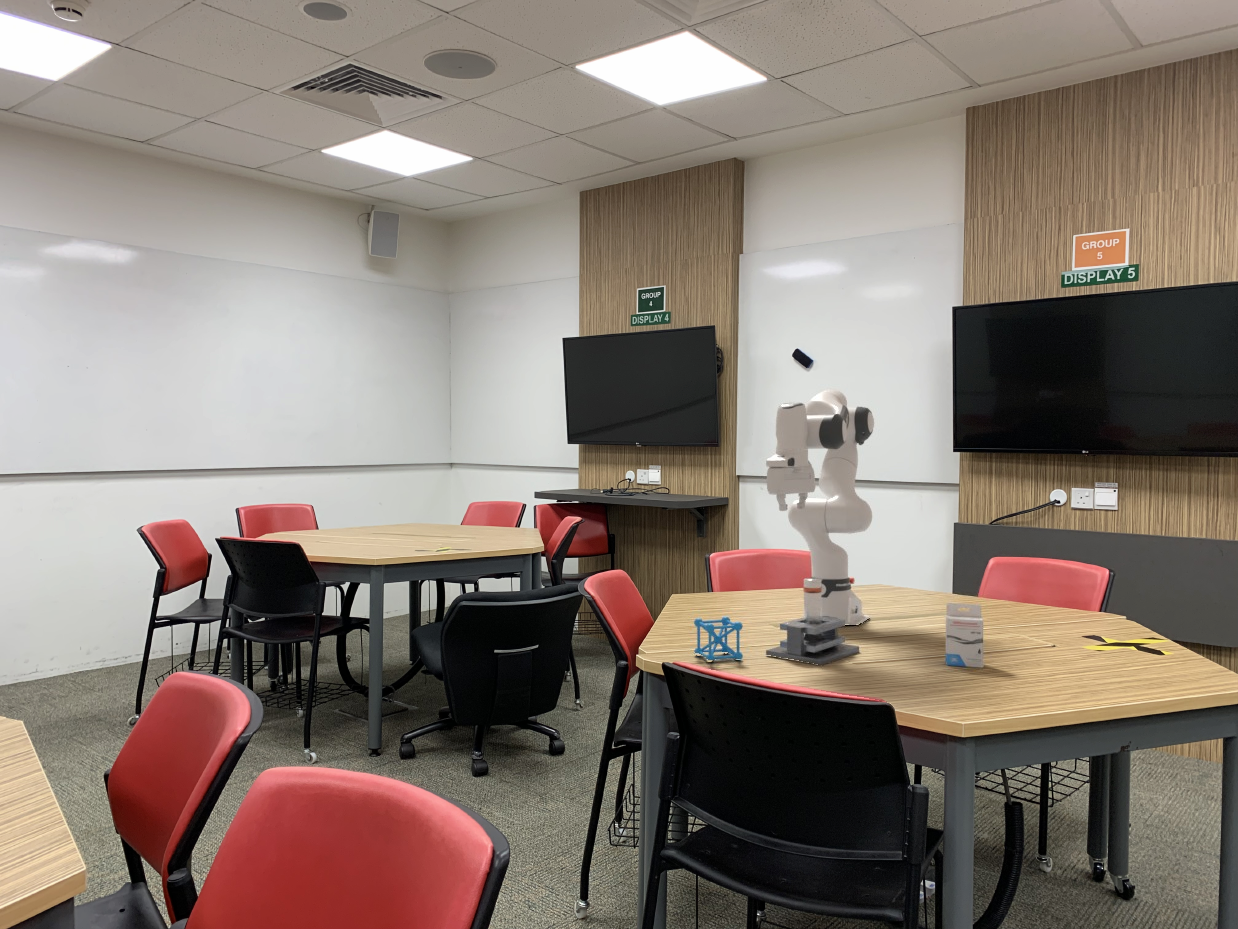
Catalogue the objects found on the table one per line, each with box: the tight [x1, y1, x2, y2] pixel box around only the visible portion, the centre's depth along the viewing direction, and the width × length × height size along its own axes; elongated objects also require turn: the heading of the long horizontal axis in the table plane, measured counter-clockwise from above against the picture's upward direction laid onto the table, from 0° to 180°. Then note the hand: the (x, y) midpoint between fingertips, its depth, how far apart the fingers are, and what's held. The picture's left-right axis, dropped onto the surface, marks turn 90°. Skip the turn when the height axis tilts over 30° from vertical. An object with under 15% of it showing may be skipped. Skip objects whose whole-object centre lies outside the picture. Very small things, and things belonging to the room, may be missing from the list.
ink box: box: [945, 602, 984, 669], centre depth 212 cm, size 9×5×15 cm, turn 71°
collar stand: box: [765, 616, 860, 666], centre depth 224 cm, size 20×16×8 cm
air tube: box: [803, 578, 822, 642], centre depth 225 cm, size 5×5×18 cm
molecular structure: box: [693, 616, 744, 661], centre depth 221 cm, size 10×10×10 cm
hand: (792, 509), depth 240 cm, fingers open, 8 cm apart
